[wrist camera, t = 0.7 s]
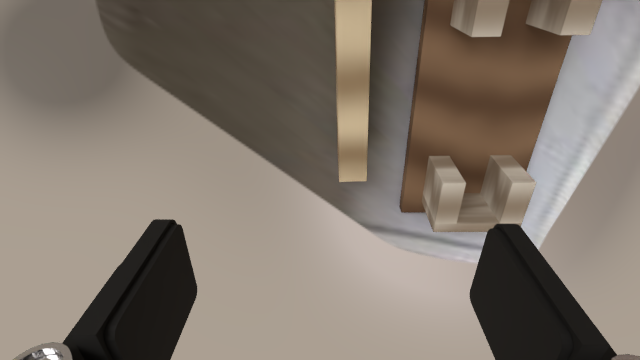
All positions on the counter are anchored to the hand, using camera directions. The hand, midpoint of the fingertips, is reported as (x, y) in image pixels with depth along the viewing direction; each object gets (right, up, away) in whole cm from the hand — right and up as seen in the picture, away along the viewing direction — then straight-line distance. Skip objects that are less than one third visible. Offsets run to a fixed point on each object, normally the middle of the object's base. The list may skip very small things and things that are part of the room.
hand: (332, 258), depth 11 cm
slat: (+2, +13, +21) cm, 24 cm away
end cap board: (+14, +11, +22) cm, 28 cm away
